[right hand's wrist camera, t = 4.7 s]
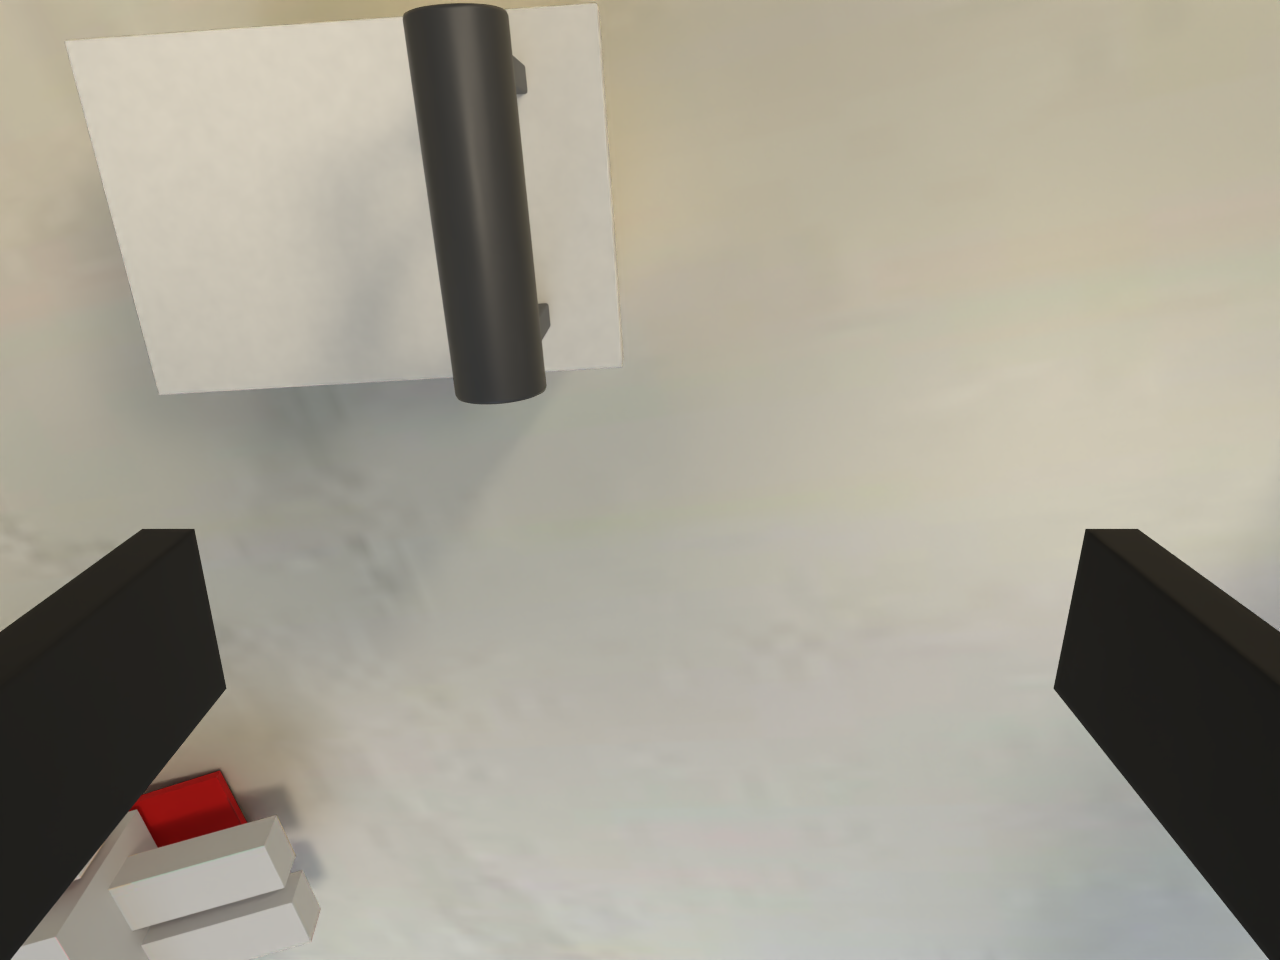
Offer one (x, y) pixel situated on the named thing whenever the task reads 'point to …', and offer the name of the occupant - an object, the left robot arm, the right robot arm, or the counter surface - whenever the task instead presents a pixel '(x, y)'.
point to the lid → (363, 198)
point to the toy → (182, 886)
